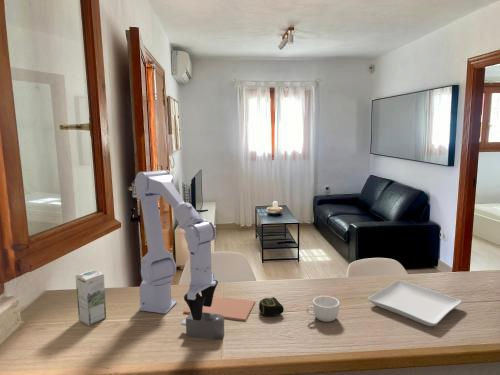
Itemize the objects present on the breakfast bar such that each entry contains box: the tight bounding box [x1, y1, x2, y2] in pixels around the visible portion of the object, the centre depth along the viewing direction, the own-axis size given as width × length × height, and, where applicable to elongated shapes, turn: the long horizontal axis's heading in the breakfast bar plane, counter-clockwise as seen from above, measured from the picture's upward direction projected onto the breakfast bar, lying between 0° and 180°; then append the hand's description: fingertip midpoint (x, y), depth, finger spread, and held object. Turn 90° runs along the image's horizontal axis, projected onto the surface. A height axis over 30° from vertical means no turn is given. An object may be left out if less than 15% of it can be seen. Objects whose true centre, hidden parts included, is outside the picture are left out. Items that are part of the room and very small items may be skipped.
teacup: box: [306, 295, 340, 323], centre depth 107 cm, size 10×8×5 cm
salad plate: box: [367, 279, 462, 327], centre depth 114 cm, size 21×21×3 cm
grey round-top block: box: [180, 312, 225, 341], centre depth 100 cm, size 12×4×5 cm, turn 76°
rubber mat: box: [183, 294, 256, 322], centre depth 114 cm, size 20×12×1 cm, turn 76°
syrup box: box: [75, 269, 107, 326], centre depth 107 cm, size 6×6×14 cm
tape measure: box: [258, 296, 285, 317], centre depth 111 cm, size 7×7×4 cm
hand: (202, 312), depth 99 cm, fingers open, 7 cm apart
